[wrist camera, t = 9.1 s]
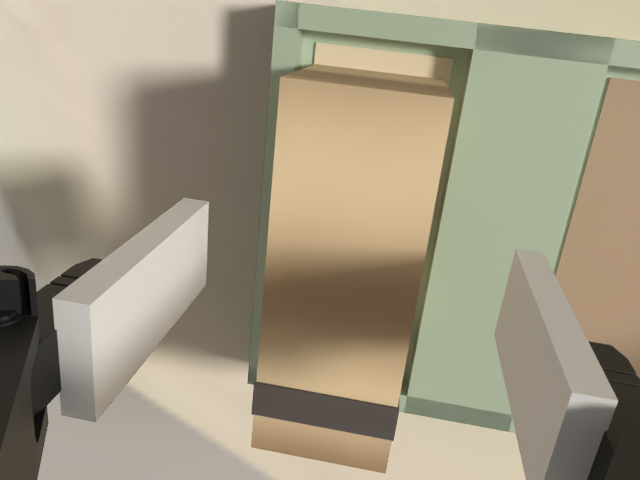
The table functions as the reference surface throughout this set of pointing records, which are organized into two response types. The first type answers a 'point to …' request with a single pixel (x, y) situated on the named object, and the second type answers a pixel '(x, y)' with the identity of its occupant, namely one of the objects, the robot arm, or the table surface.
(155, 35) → the table surface
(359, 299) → the oak bar
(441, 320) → the pale green flat frame
